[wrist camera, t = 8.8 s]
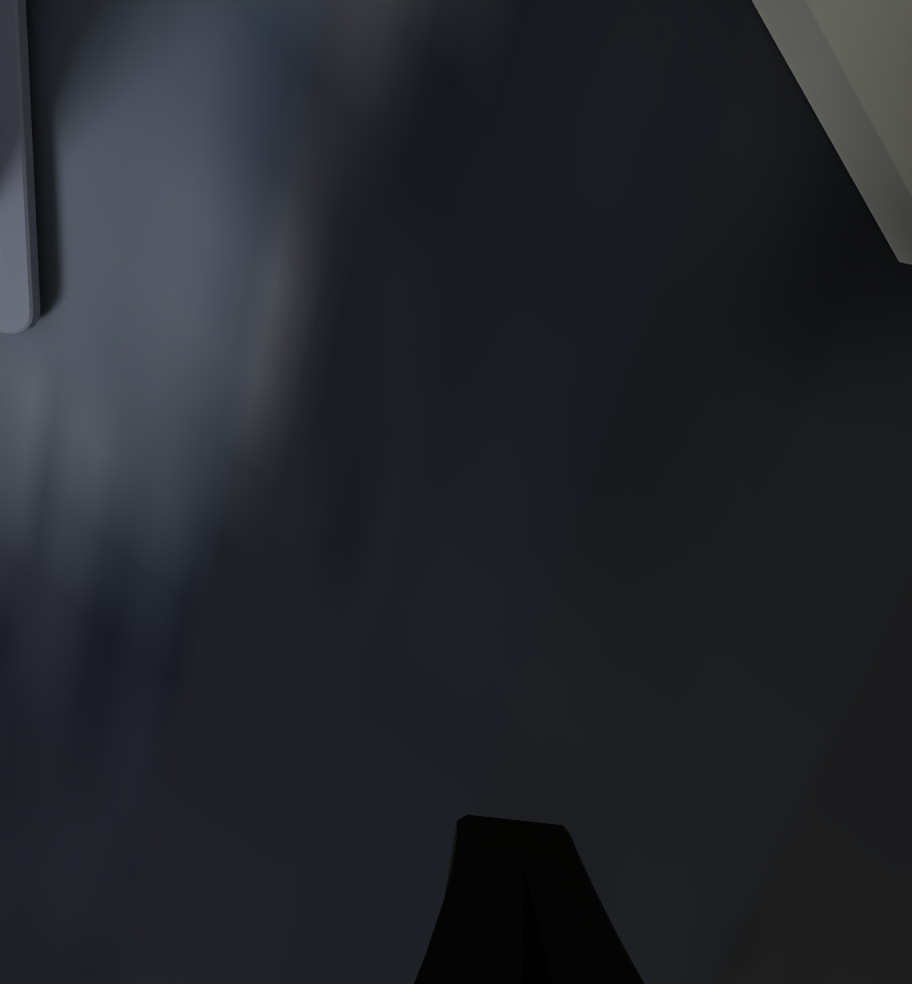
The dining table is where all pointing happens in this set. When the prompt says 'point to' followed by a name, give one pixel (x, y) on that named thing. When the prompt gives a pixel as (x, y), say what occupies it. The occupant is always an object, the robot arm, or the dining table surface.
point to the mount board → (858, 93)
